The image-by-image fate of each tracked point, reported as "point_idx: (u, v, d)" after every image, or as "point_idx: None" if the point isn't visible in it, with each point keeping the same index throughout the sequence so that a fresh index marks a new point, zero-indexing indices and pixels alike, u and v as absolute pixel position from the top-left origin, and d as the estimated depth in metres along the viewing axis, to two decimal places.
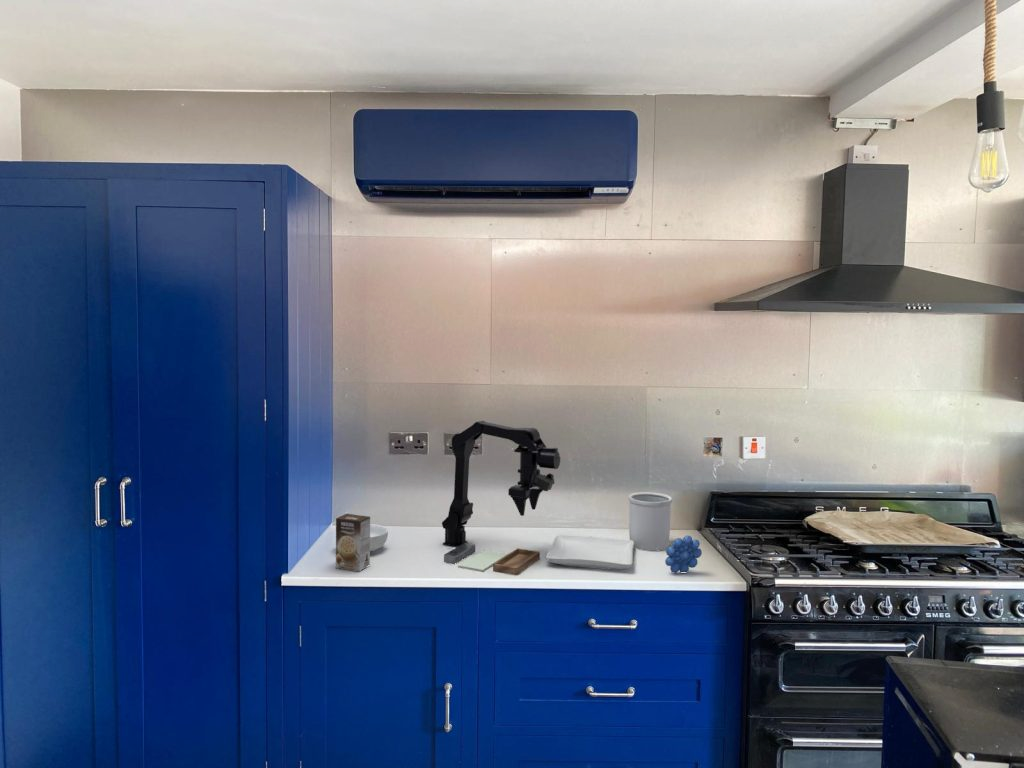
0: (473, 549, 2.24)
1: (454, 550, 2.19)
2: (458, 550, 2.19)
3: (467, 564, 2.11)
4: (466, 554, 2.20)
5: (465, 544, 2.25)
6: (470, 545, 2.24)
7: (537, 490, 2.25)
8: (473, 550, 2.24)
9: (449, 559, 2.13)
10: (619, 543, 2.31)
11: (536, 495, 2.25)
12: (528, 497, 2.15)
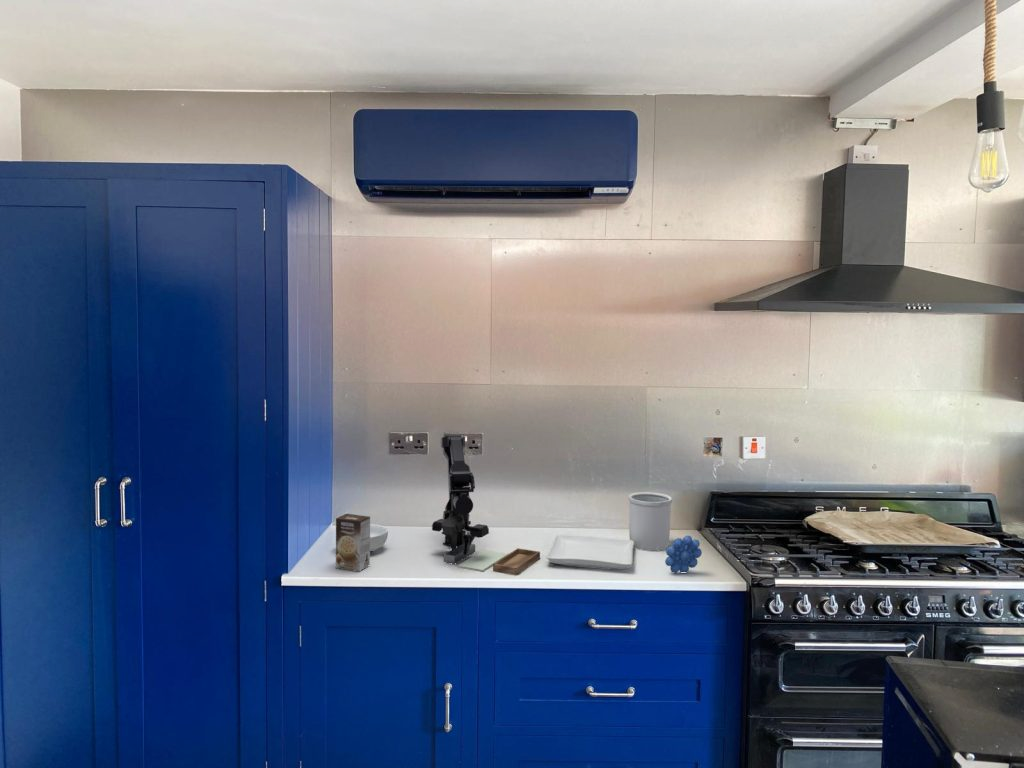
0: (473, 549, 2.24)
1: (454, 550, 2.19)
2: (458, 550, 2.19)
3: (467, 564, 2.11)
4: (466, 554, 2.20)
5: None
6: None
7: None
8: (473, 550, 2.24)
9: (449, 558, 2.13)
10: (619, 543, 2.31)
11: None
12: (446, 534, 2.19)
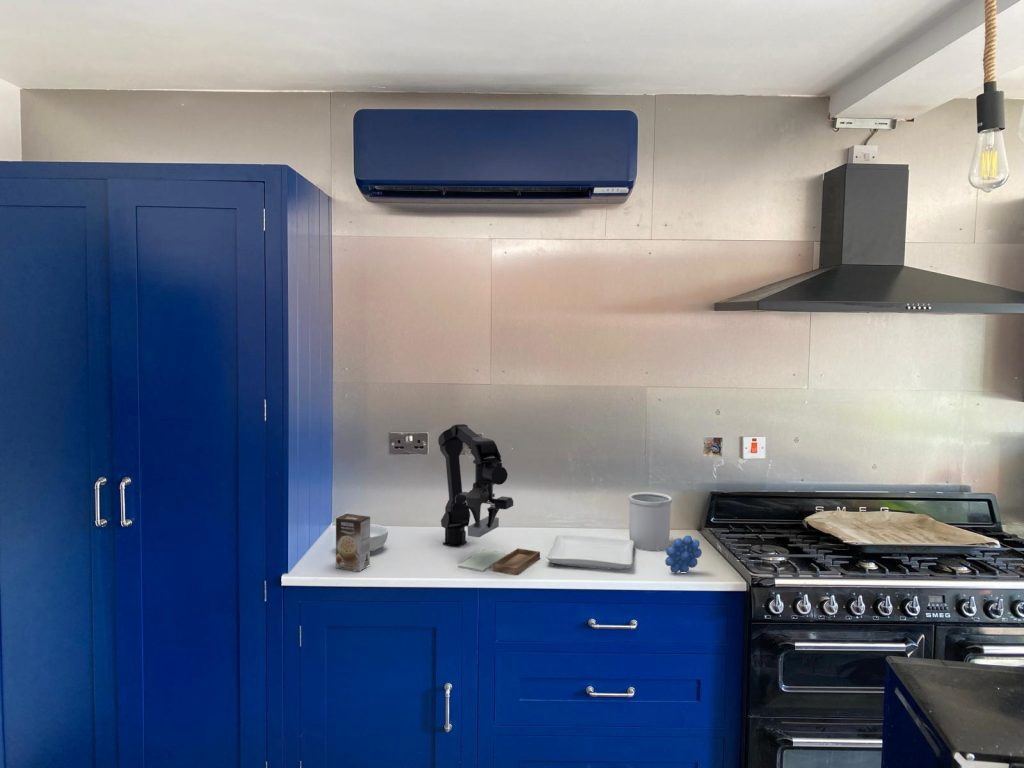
0: (496, 522, 2.20)
1: (478, 523, 2.14)
2: (482, 522, 2.14)
3: (467, 564, 2.11)
4: None
5: None
6: None
7: None
8: (496, 523, 2.20)
9: (473, 531, 2.09)
10: (619, 543, 2.31)
11: None
12: (469, 507, 2.14)
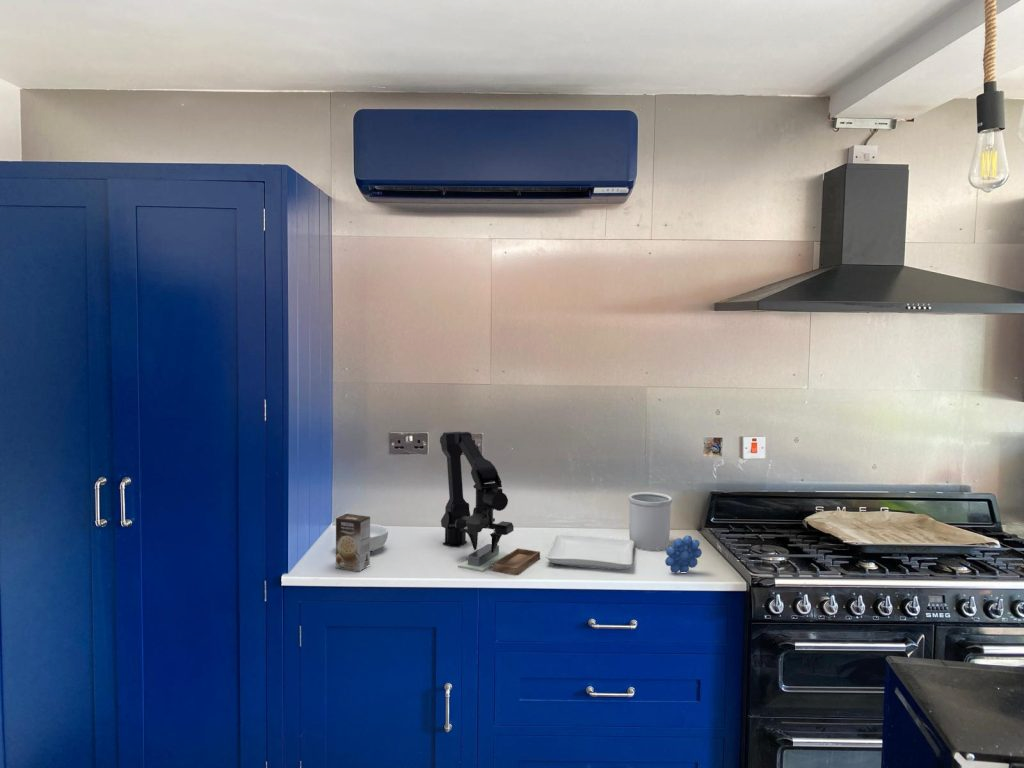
0: (497, 550, 2.20)
1: (478, 551, 2.15)
2: (482, 551, 2.15)
3: (467, 564, 2.11)
4: (490, 555, 2.16)
5: (488, 545, 2.21)
6: None
7: None
8: (497, 551, 2.20)
9: (473, 560, 2.10)
10: (619, 543, 2.31)
11: None
12: (467, 531, 2.15)
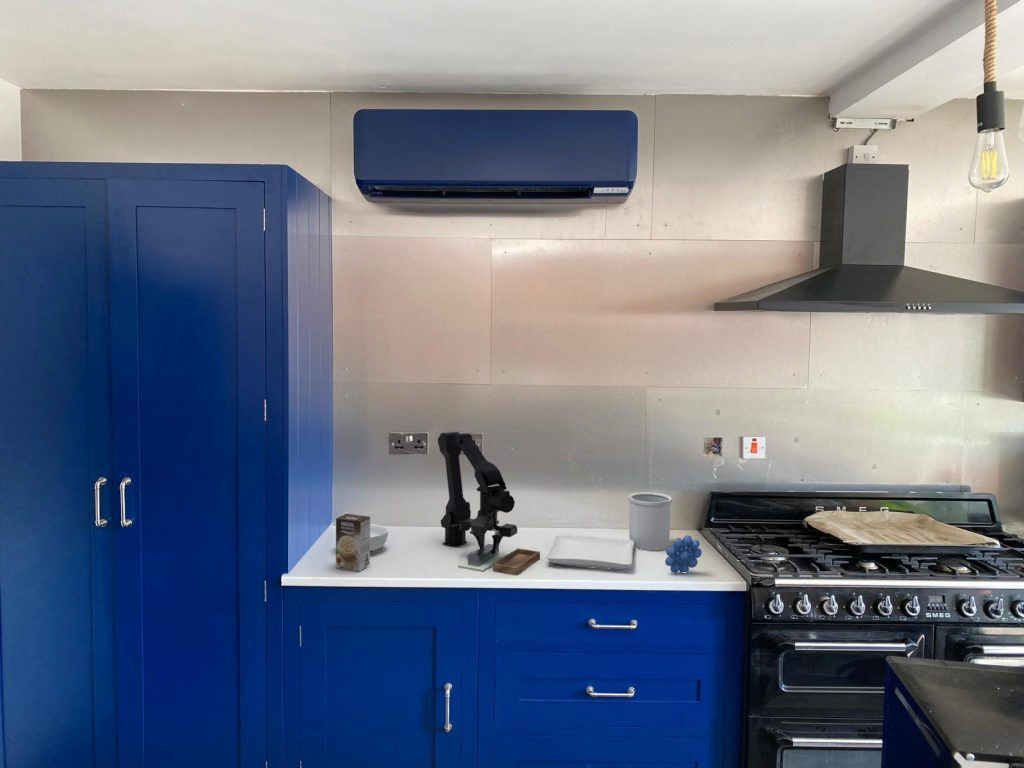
0: (497, 550, 2.20)
1: (478, 551, 2.15)
2: (482, 551, 2.15)
3: (467, 564, 2.11)
4: (490, 555, 2.16)
5: (488, 545, 2.21)
6: None
7: None
8: (497, 551, 2.20)
9: (473, 560, 2.10)
10: (619, 543, 2.31)
11: None
12: (474, 534, 2.17)
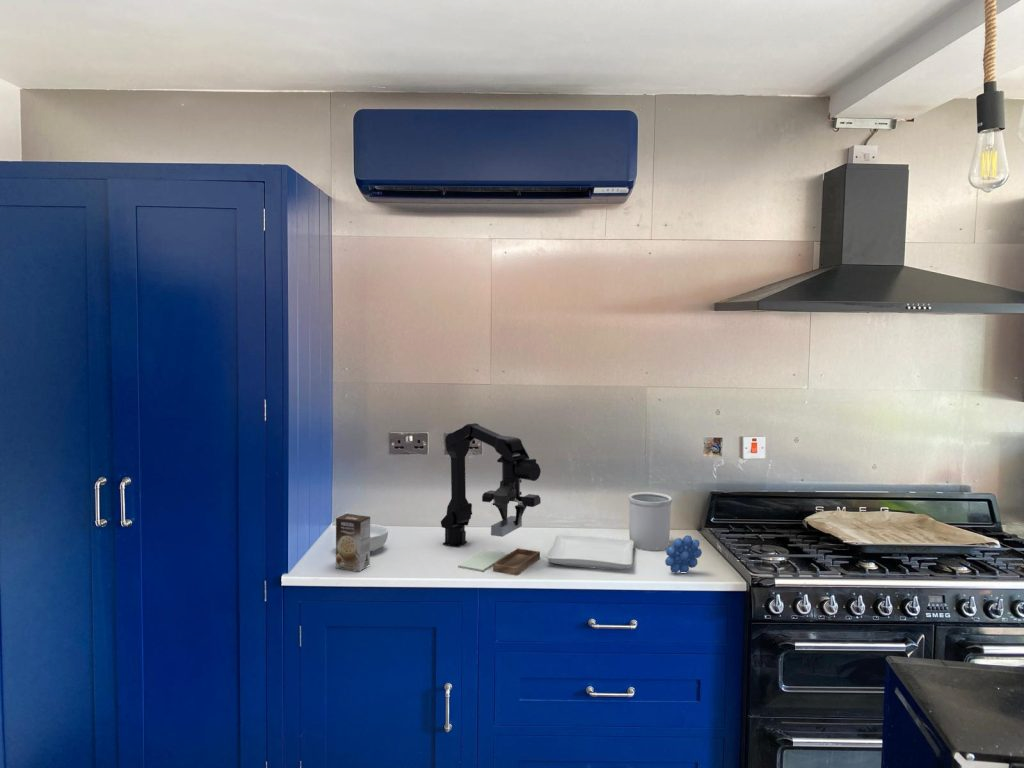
0: (520, 522, 2.17)
1: (501, 522, 2.12)
2: (505, 522, 2.12)
3: (467, 564, 2.11)
4: (513, 526, 2.13)
5: (511, 517, 2.18)
6: None
7: None
8: (520, 523, 2.17)
9: (497, 530, 2.07)
10: (619, 543, 2.31)
11: None
12: (497, 505, 2.15)
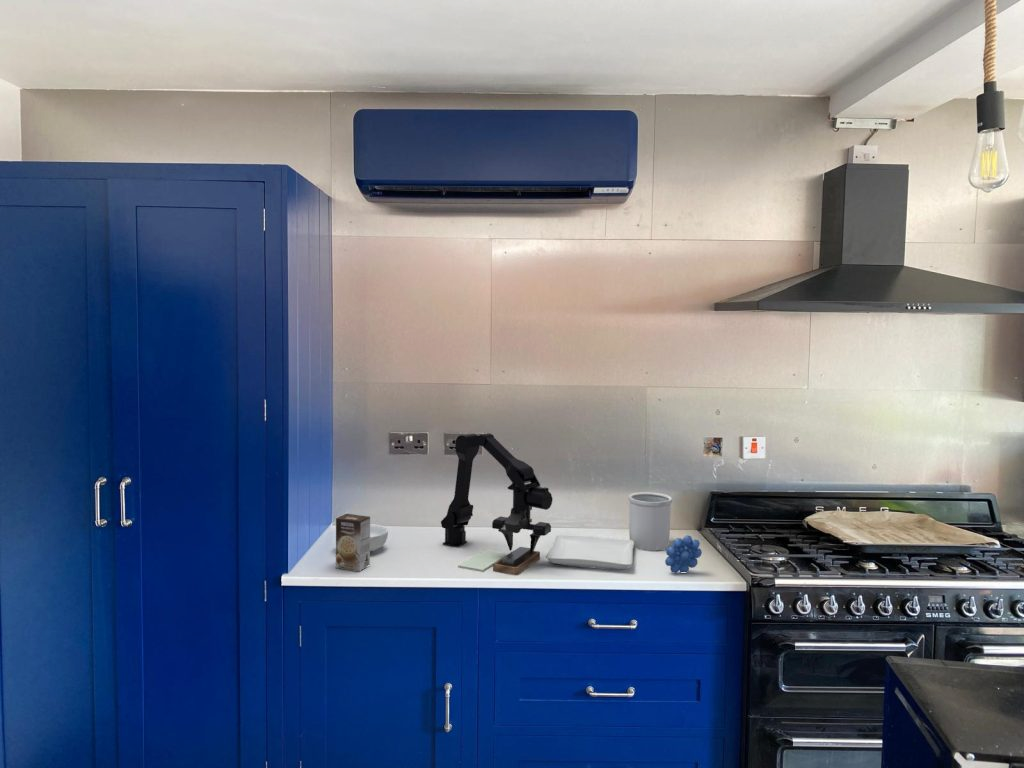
0: (529, 553, 2.17)
1: (511, 554, 2.12)
2: (516, 554, 2.12)
3: (467, 564, 2.11)
4: (523, 558, 2.13)
5: (521, 548, 2.18)
6: (526, 549, 2.17)
7: None
8: (529, 554, 2.17)
9: (508, 563, 2.07)
10: (619, 543, 2.31)
11: None
12: (503, 531, 2.15)
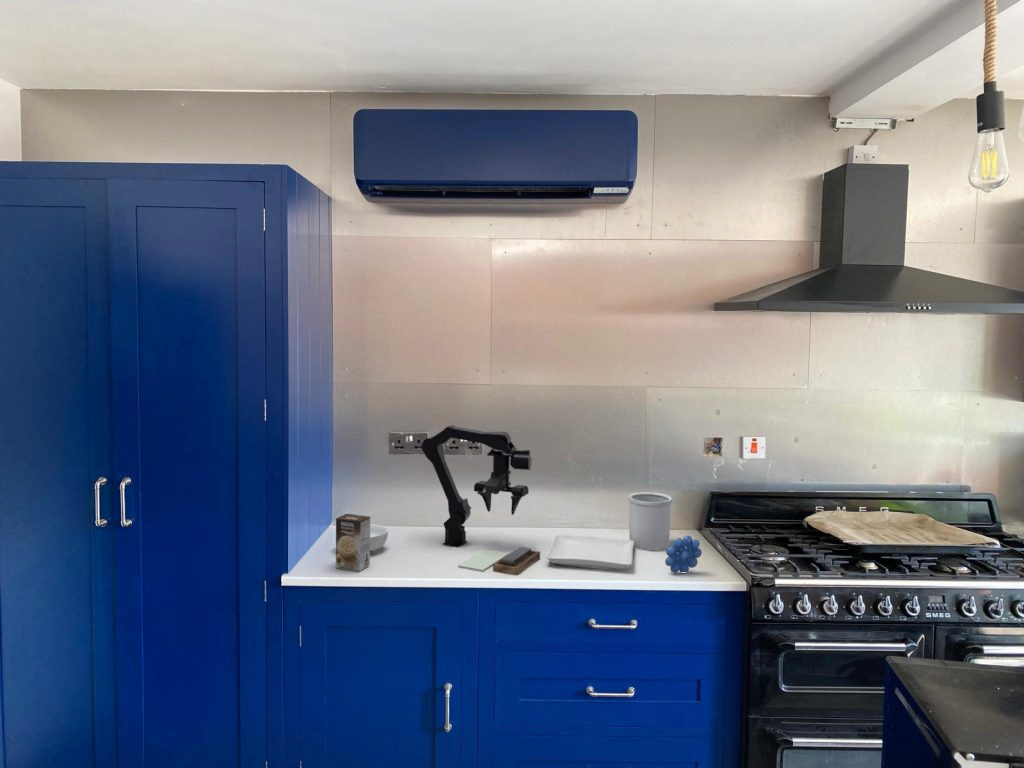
0: (529, 553, 2.17)
1: (511, 554, 2.12)
2: (516, 554, 2.12)
3: (467, 564, 2.11)
4: (523, 558, 2.13)
5: (521, 548, 2.18)
6: (526, 549, 2.17)
7: None
8: (529, 554, 2.17)
9: (508, 563, 2.07)
10: (619, 543, 2.31)
11: None
12: (481, 494, 2.30)
